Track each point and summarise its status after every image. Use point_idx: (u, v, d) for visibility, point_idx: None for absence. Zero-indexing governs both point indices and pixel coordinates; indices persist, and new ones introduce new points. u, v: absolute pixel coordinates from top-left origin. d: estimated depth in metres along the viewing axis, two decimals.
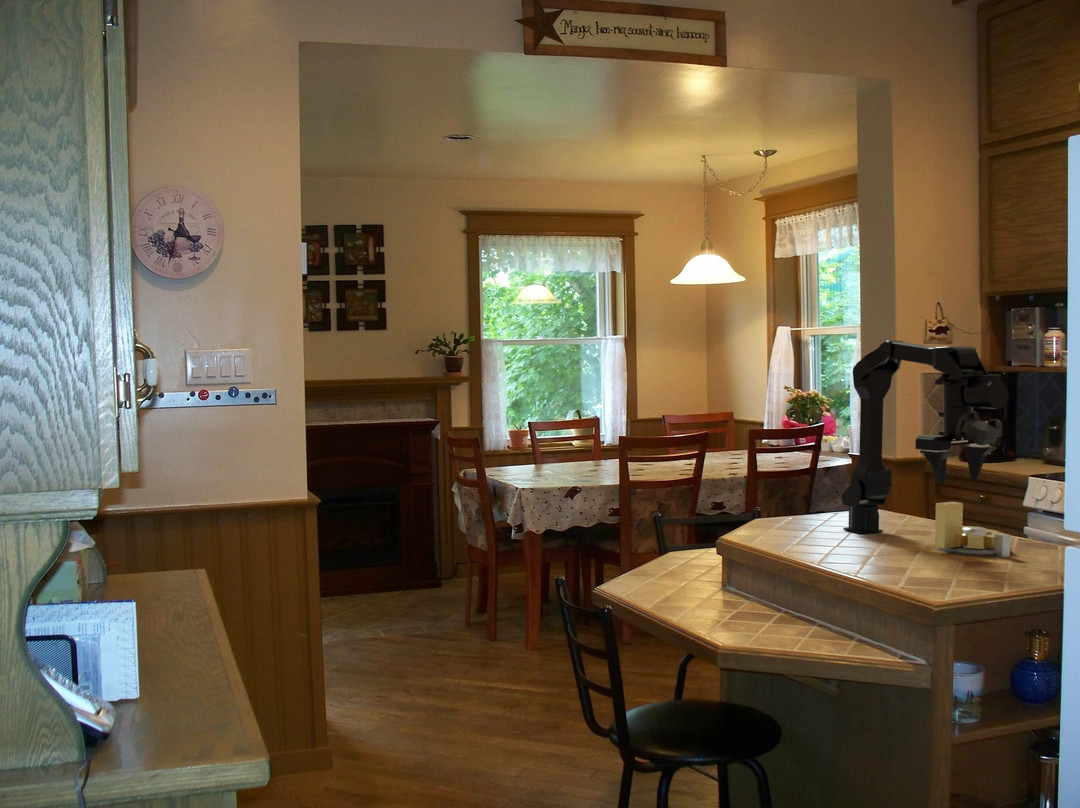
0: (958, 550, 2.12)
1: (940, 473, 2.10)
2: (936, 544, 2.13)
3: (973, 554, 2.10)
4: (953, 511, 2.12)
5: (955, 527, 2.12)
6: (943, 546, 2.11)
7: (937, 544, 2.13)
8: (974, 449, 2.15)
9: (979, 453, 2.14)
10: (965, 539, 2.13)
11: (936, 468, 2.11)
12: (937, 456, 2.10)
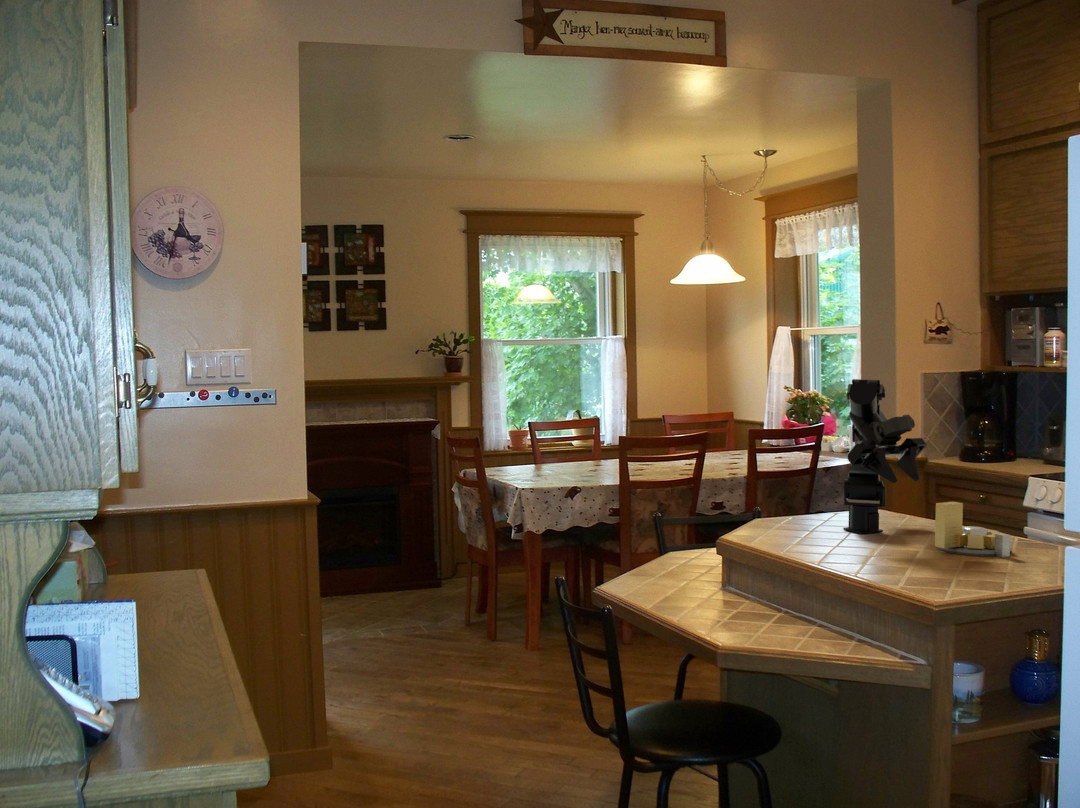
0: (958, 550, 2.12)
1: (887, 473, 2.22)
2: (936, 544, 2.13)
3: (973, 554, 2.10)
4: (953, 511, 2.12)
5: (955, 527, 2.12)
6: (943, 546, 2.11)
7: (937, 544, 2.13)
8: (903, 458, 2.29)
9: (907, 456, 2.27)
10: (965, 539, 2.13)
11: (883, 471, 2.23)
12: (877, 462, 2.25)
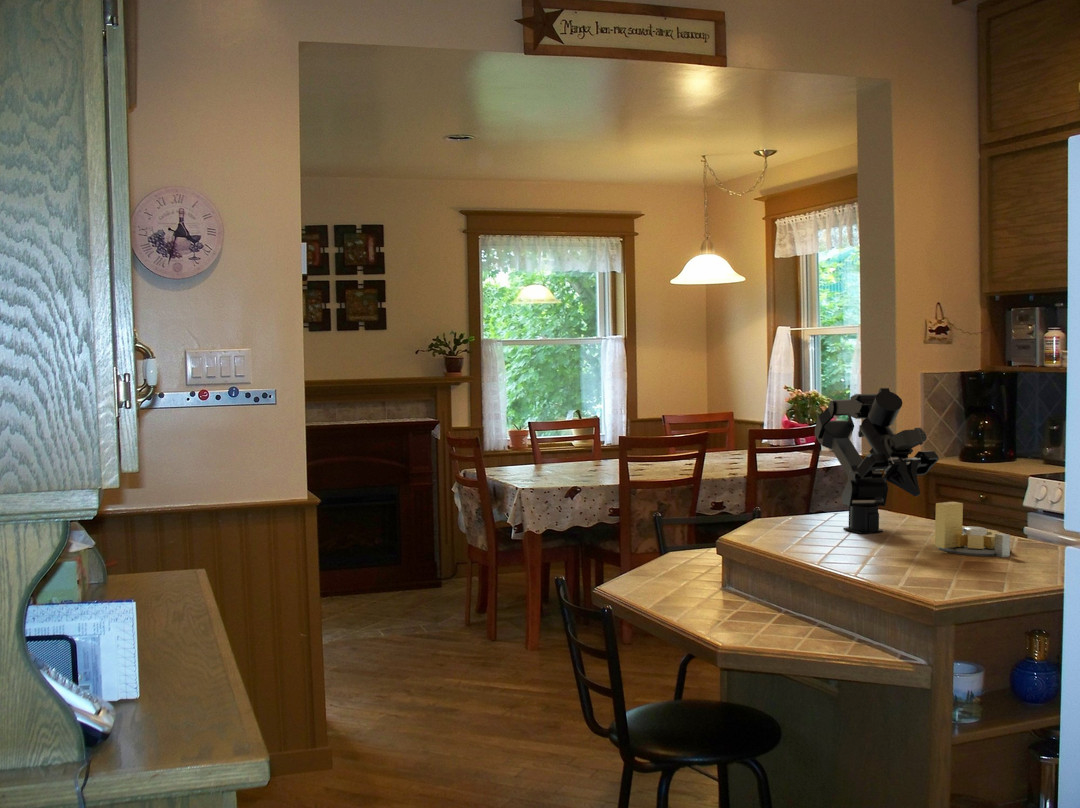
0: (958, 550, 2.12)
1: (909, 486, 2.20)
2: (936, 544, 2.13)
3: (973, 554, 2.10)
4: (953, 511, 2.12)
5: (955, 527, 2.12)
6: (943, 546, 2.11)
7: (937, 544, 2.13)
8: None
9: (908, 471, 2.23)
10: (965, 539, 2.13)
11: (904, 484, 2.21)
12: (899, 474, 2.23)
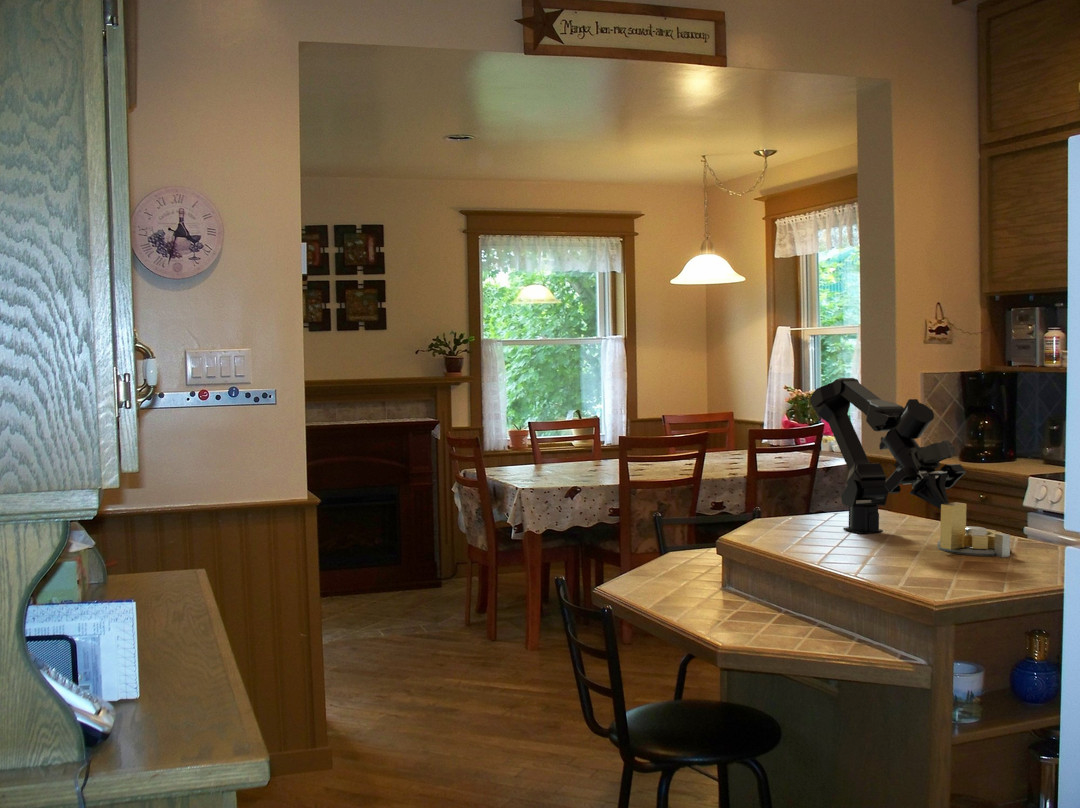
0: (958, 550, 2.12)
1: (938, 500, 2.14)
2: (942, 545, 2.12)
3: (973, 554, 2.10)
4: (958, 512, 2.11)
5: (960, 528, 2.12)
6: (950, 547, 2.10)
7: (943, 545, 2.12)
8: None
9: (937, 485, 2.16)
10: (968, 539, 2.13)
11: (933, 499, 2.15)
12: (927, 489, 2.16)
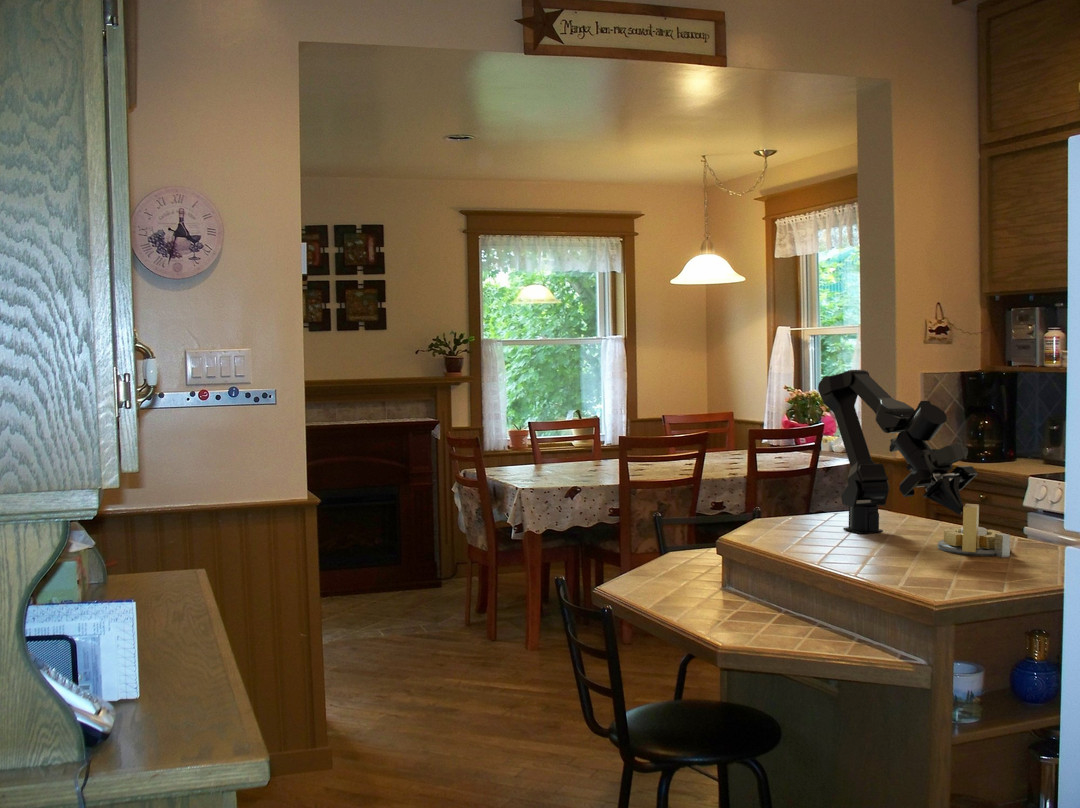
0: (958, 550, 2.12)
1: (953, 503, 2.11)
2: (964, 549, 2.08)
3: (973, 554, 2.10)
4: (977, 513, 2.09)
5: (977, 529, 2.10)
6: (974, 550, 2.07)
7: (966, 548, 2.08)
8: None
9: (950, 487, 2.14)
10: (979, 540, 2.12)
11: (947, 502, 2.12)
12: (941, 491, 2.13)
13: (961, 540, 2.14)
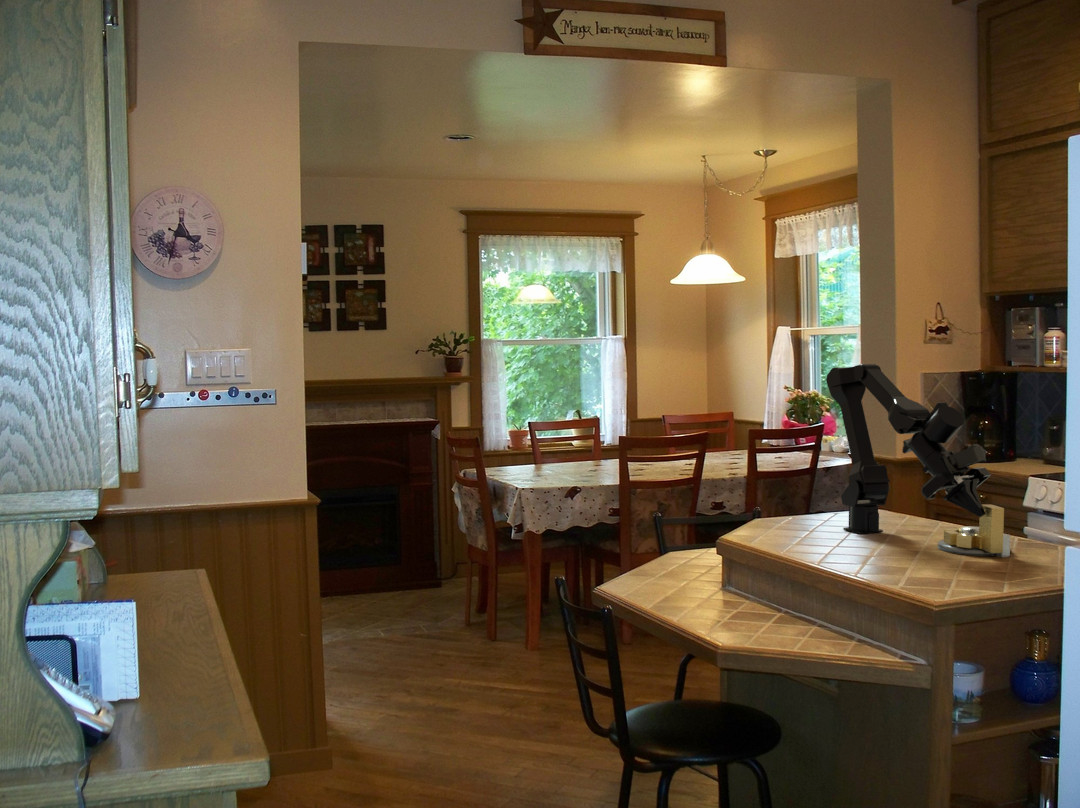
0: (958, 550, 2.12)
1: (974, 506, 2.09)
2: (992, 550, 2.07)
3: (973, 554, 2.10)
4: None
5: None
6: (1001, 550, 2.07)
7: (994, 550, 2.07)
8: None
9: None
10: None
11: (967, 504, 2.10)
12: (960, 494, 2.11)
13: (973, 541, 2.12)
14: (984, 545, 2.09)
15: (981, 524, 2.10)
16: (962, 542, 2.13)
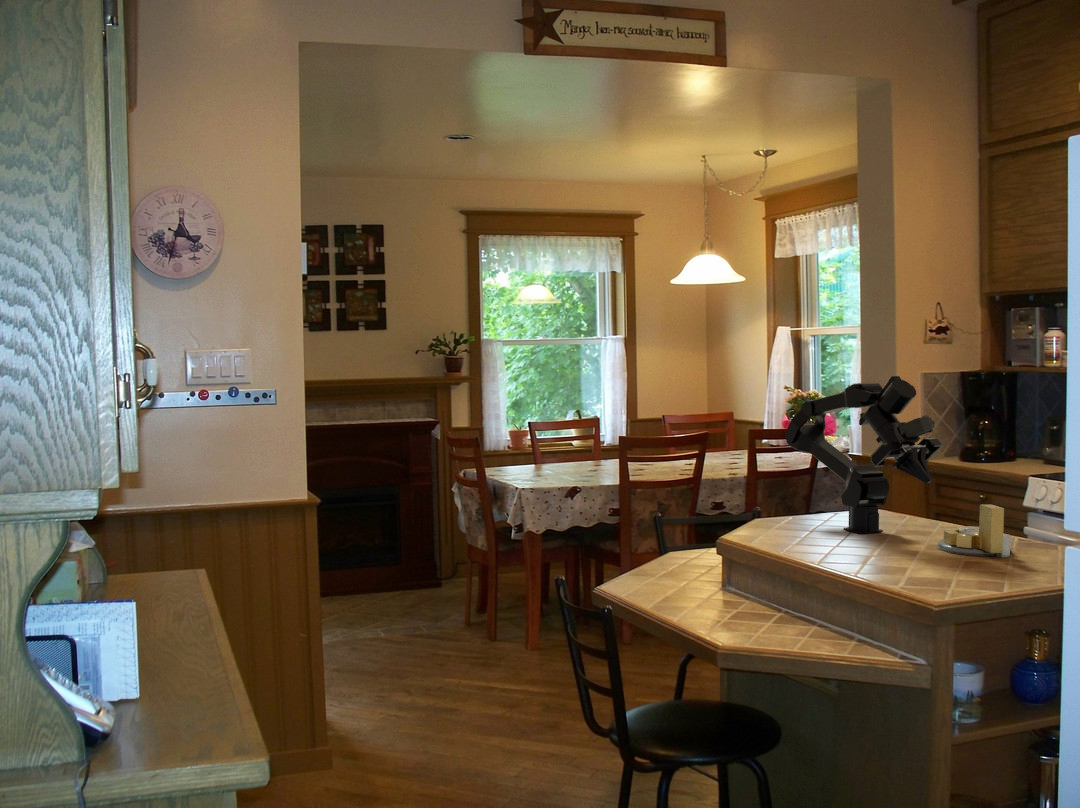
0: (958, 550, 2.12)
1: (920, 473, 2.23)
2: (992, 550, 2.07)
3: (973, 554, 2.10)
4: None
5: None
6: (1001, 550, 2.07)
7: (994, 550, 2.07)
8: None
9: (918, 458, 2.26)
10: None
11: (915, 472, 2.24)
12: (909, 462, 2.25)
13: (973, 541, 2.12)
14: (984, 545, 2.09)
15: (981, 524, 2.10)
16: (962, 542, 2.13)
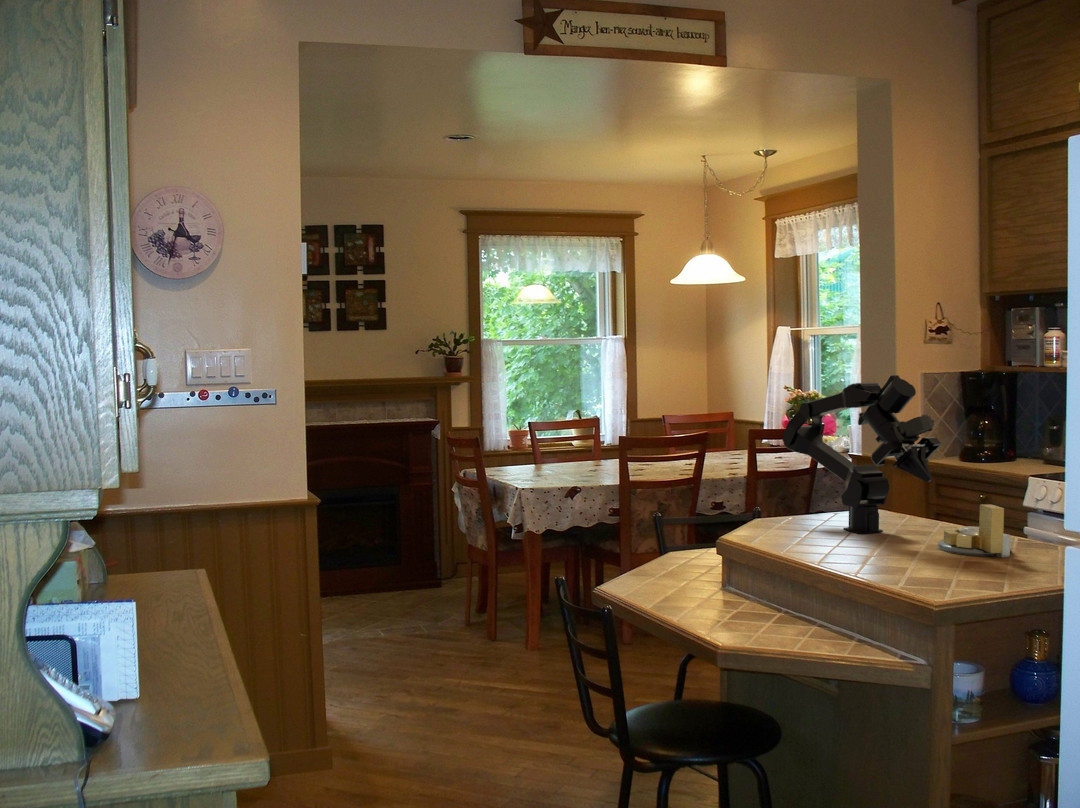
0: (958, 550, 2.12)
1: (921, 472, 2.24)
2: (992, 550, 2.07)
3: (973, 554, 2.10)
4: None
5: None
6: (1001, 550, 2.07)
7: (994, 550, 2.07)
8: None
9: (918, 457, 2.26)
10: None
11: (915, 470, 2.25)
12: (909, 461, 2.26)
13: (973, 541, 2.12)
14: (984, 545, 2.09)
15: (981, 524, 2.10)
16: (962, 542, 2.13)
